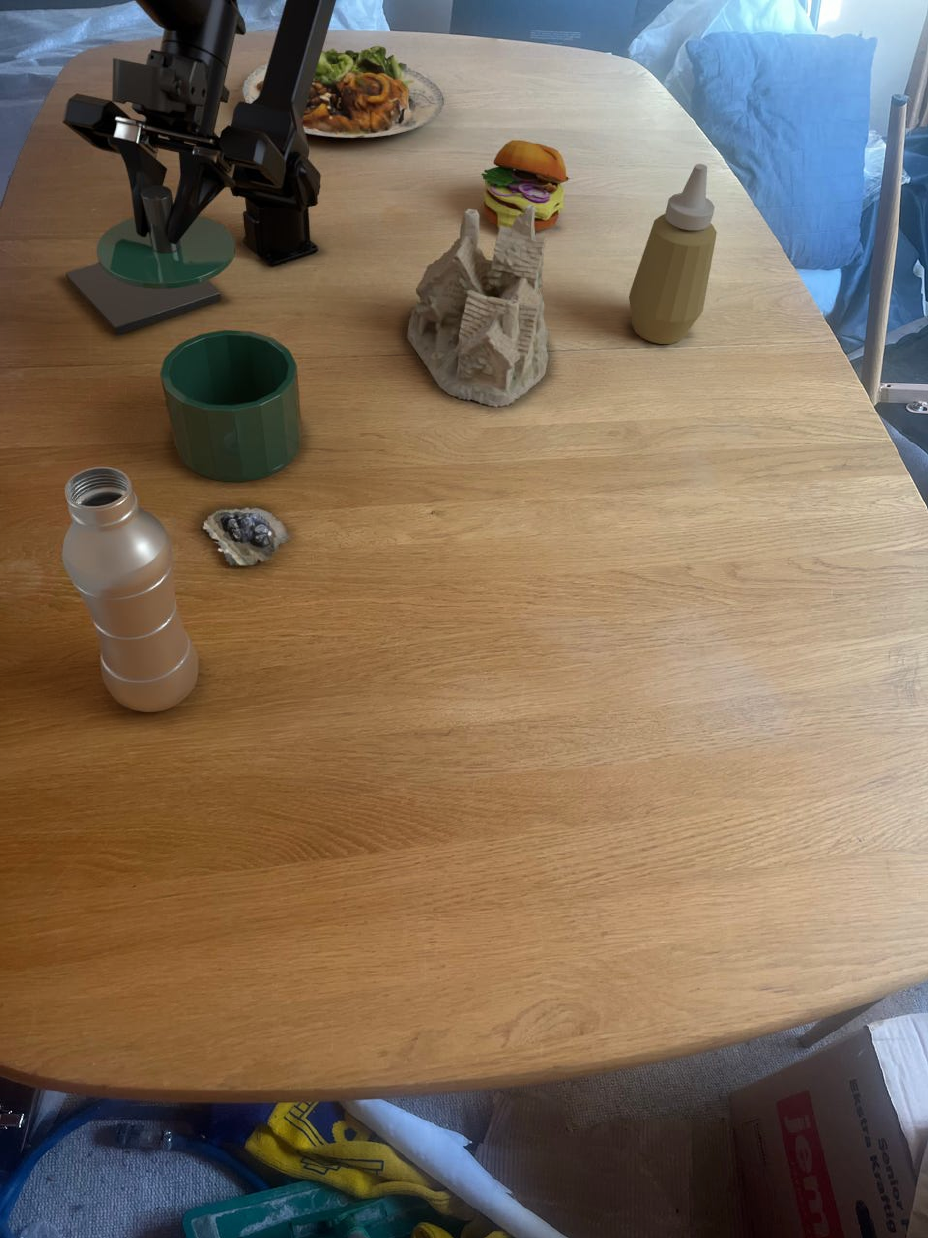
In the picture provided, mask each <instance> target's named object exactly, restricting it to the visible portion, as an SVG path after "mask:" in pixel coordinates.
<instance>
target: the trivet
mask: <svg viewBox="0 0 928 1238" xmlns="http://www.w3.org/2000/svg"><path fill="white" fill-rule="evenodd" d="M64 274H65V278H66V281H67V282H68V283H69V284H70V286H71V287H73V289H74V290H75V291H76V292H77V293H78V294H79V296H81V297H82V299H83V300H84V301H85V302H86V303H87V304H88V305H89V307H91V309H93V311H94V312H95V313H96V315H98V316H99V317H100V319H101V320H103V322H104V323H105V325H107V326H108V327H109V328H110V329H111V330H112V332H113V333H115V335H116V336H120V335H123V334H126V333H129V332H132V331H135V330H138V329H141V328H144V327H147V326H149V325H152V324H155V323H156V324H157V323H159V322H161V321H164V320H167V319H170V318H174V317H177V316H180V315H183V314H186V313H189V312H192V311H194V310H198V309H201V308H204V307H206V306H210V305H213V304H216V303H219V302H221V301H222V294H221V291H220V290H219V289H217V288H216V287H215V286H214V285H213V284H212V283H211V282H210V281H209V280H206V281H204V282H201V283H198V284H194V285H190V286H186V287H180V288H170V289H153V288H143V287H138V286H133V285H130V284H126V283H124V282H121V281H119V280H117V279H115V278H113V277H112V276H110V275H109V274H107V273H106V272H105V271H104V270H103V268H102V267H101V265H100V264H99V262H96V263H94V264H90V265H87V266H84V267H80V268H77V269H74V270H71V271H67V272H65V273H64Z"/></svg>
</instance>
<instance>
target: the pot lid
mask: <svg viewBox="0 0 928 1238" xmlns="http://www.w3.org/2000/svg"><path fill="white" fill-rule="evenodd" d="M141 197H142V202H143V207H144V212H145V217H146V222H147V227H148V233H147V236H146V237H141V236H140V235H138V234H137V232H136V225H135V218H134V216H133V217H130V218H128V219H124V220H123V221H120V222H118V223H116V224H115V225H113V226H112V227H110V228H109V229H107V230H106V231H105V232H104V233H103V234H102V235H101V236H100V238H99V239H98V241H97V244H96V251H95V253H96V257H97V261H98V263H99V264H100V265H101V267H102V268H103V270H104V271H105V272H106V273H107V274H109V275H110V276H112V277H113V278H115V279H117V280H119V281H121V282H124V283H126V284H130V285H133V286H138V287H143V288H153V289H170V288H180V287H186V286H190V285H194V284H198V283H201V282H204V281H206V280H208V281H209V280H211V279H213V278H215V277H217V276H218V275H220V274H221V273H222V272H224V271H225V270H226V269H227V268H228V267H229V266H230V265H231V263H232V262H233V260H234V258H235V254H236V243H235V239H234V237H233V235H232V233H231V232H230V230H229V229H227V228H226V227H225V226H224V225H223V224H222V223H220V222H218V221H216V220H214V219H211V218H209V217H207V216H203V215H201V214H200V215H199V216H198V217H197V218H196V219H195V221H194V222H193V223H192V225H191V226H190V227H189V228H188V230H187V231H186V232H185V233H184V235H183V236H182V237H181V239H180V240H179V241H178V242H177V244H172V243H170V242H169V241H168V240H167V236H168V227H169V221H170V217H171V213H172V209H173V205H174V197H173V191H172V189H171V188H170V187H168V186H165V185H163V186H162V185H153V186H148V187H146V188H144V189H143V190H142V191H141Z"/></svg>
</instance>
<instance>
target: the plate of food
mask: <svg viewBox="0 0 928 1238" xmlns="http://www.w3.org/2000/svg"><path fill="white" fill-rule="evenodd" d="M386 55H387V49H386V47H385V46H382V45H381V46H380V45H375V46H372V47H370V48H366V49H362V50H361V51H360V52H357V51H356V52H355V51H353V50H351V49H346V50H345V52H338V51H337V50H336V49H335V48H331V49H330V50H326V51H324V50H322V52H321V56H320V59H319V63H318V66H317V70H316V73H315V77H314V80H313V84H312V87H311V91H310V94H309V98H308V101H307V105H306V108H305V112H304V115H303V120H302V124H303V127H304V131H305V134H308V135H314V136H321V137H332V138H346V139H347V138H351V139H353V138H354V139H355V138H375V137H385V136H391V135H397V134H400V133H401V134H402V133H405V132H409V131H412V130H414V129H418V128H420V127H422V126H424V125H426V124H428V123H430V122H432V121H433V120H434V119H435V118H437V116H438V115H439V114H440V113H441V111H442V109H443V107H444V105H445V99H444V96H443V93H442V91H441V90H440V88H439V87H438V86H437V85H436V84H435V82H433V81H431V80H430V79H429V78H427V77H425V76H424V75H423V74H421V73H420V72H417V71H416V70H413V69H411V68H409V67H408V66H407V64H406V63H404V62H398V61H397V60H396V58H395V55H394V54H391V55H390V56H388V57H387V58H386ZM267 66H268V62H267V63H265V64H262V65H260V66H258V67H257V68H256V69H253V70H252V71H251V72H250V73H249V75H247V76H246V78H245V79H244V82H243V84H242V87H241V95H242V97H243V98H244V100H245V101H244V102H246V103H250V104H251V103H252V102H253V101H254V100H256V99H257V98H258V96H259V94H260V91H261V87H262V83H263V80H264V76H265V73H266V69H267Z"/></svg>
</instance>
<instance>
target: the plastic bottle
mask: <svg viewBox="0 0 928 1238" xmlns="http://www.w3.org/2000/svg"><path fill="white" fill-rule="evenodd" d="M64 496H65V500H66V502H67V505H68V508H67V509H68V513H69V516H70V518H71V520H72V523H71V524H70V526H69V527H68V530H67V532H66V534H65V536H64V539H63V543H62V545H63V546H62V554H61V558H62V565H63V567H64V569H65V571H66V574H67V575H68V577H69V579H70V581H71V582H72V584H73V585H74V587H75V589H76V591H77V592H78V594H79V596H80V597H81V599H82V601H83V602H84V604H85V606H86V608H87V611H88V613H89V616H90V618H91V620H92V622H93V626H94V628H95V631H96V635H97V638H98V639H97V640H98V644H99V649H100V669H101V670H100V671H101V677H102V681H103V683H104V685H105V687H106V689H107V690H108V692H109V693H110V695H111V696H112V697H113V699H114V700H115V701H116V702H117V703H119V704H120V705H121V706H123V707H125V708H127V709H129V710H133V711H136V712H137V711H138V712H143V713H155V712H157V713H158V712H161V711H165V710H168V709H171V708H173V707H175V706H176V705H178V704H180V703H181V702H182V701H183V700H184V699H185V698H187V697H188V696H189V695H190V694H191V692H192V691H193V690H194V688H195V687H196V685H197V681H198V677H199V655H198V652H197V650H196V648H195V645H194V644H193V641H192V639H191V638H190V636H189V635H188V633H187V631H186V628H185V626H184V623H183V620H182V618H181V615H180V613H179V609H178V605H177V600H176V592H175V585H174V549H173V548H174V547H173V542H172V538H171V534H169V532H168V530H167V529H166V527H165V526H164V524H163V523H162V522H161V520H160V519H158V518H157V517H156V516H155V515H153V514H152V513H151V512H149V511H147V510H146V509H144V508H142V507H140V503H139V500H138V496H137V494H136V493H135V491H134V489H133V485H132V482H131V479H130V478H129V476H128V475H127V474H126V473H125V472H123V471H122V470H120V469H118V468H115V467H109V466H95V467H90V468H87V469H83V470H81V471H79V472H77V473H75V474H74V475H72V476H71V477H70V478H69V479H68V481H67V482H66V484H65V486H64Z"/></svg>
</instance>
